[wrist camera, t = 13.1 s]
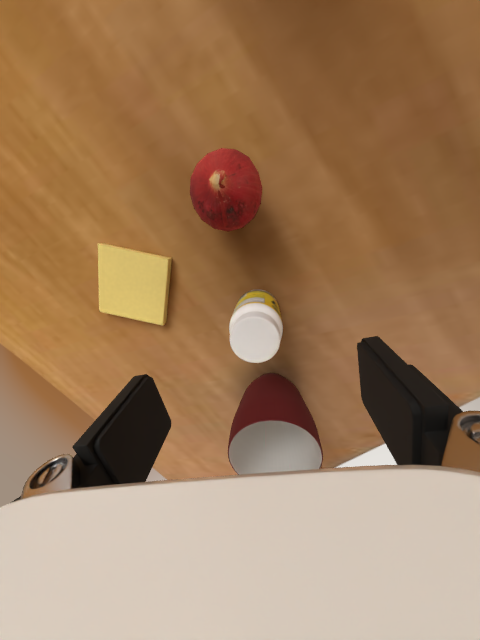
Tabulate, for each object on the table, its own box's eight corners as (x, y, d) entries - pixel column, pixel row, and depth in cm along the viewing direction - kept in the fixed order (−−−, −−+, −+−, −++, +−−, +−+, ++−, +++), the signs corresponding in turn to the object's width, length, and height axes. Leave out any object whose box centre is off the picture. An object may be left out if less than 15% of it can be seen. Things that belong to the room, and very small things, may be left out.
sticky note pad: (104, 309, 28) (98, 311, 27) (103, 243, 25) (97, 243, 25) (166, 322, 28) (162, 325, 27) (172, 257, 25) (168, 258, 24)
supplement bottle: (281, 327, 27) (288, 365, 19) (240, 331, 27) (230, 371, 19) (276, 285, 25) (281, 308, 17) (233, 291, 26) (219, 316, 18)
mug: (328, 408, 30) (356, 487, 20) (274, 434, 32) (278, 517, 23) (279, 345, 27) (287, 403, 18) (226, 378, 30) (208, 445, 20)
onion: (268, 221, 23) (270, 215, 16) (213, 238, 24) (190, 240, 17) (253, 154, 21) (247, 111, 14) (194, 175, 22) (159, 146, 15)
